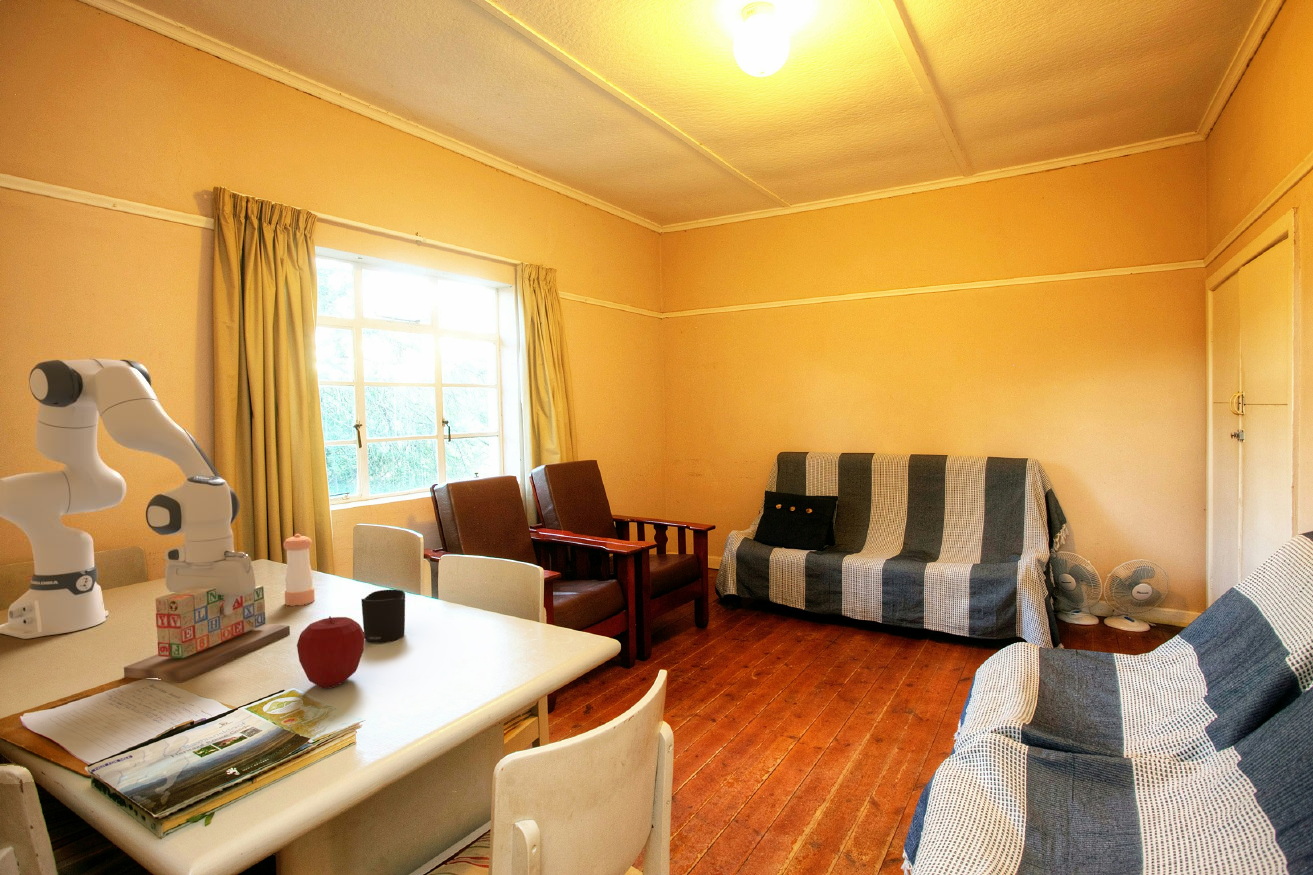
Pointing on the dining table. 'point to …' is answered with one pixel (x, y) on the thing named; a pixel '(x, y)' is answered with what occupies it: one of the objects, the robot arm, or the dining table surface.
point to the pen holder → (384, 616)
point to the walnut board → (205, 656)
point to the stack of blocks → (203, 619)
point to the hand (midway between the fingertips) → (212, 613)
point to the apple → (331, 650)
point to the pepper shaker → (298, 571)
